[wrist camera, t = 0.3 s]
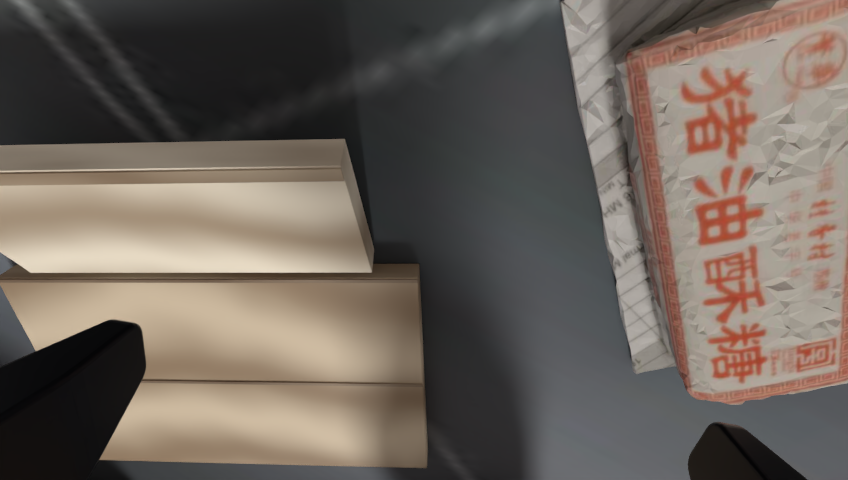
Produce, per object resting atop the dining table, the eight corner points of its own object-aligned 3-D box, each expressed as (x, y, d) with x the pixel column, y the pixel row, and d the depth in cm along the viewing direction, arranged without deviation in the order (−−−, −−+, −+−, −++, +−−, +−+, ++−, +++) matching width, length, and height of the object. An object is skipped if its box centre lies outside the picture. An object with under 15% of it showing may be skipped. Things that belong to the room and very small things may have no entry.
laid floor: (427, 450, 29) (426, 469, 28) (106, 442, 30) (93, 460, 29) (419, 263, 23) (417, 278, 22) (16, 264, 24) (-5, 278, 23)
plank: (374, 249, 22) (371, 273, 22) (42, 251, 23) (30, 274, 23) (344, 138, 16) (340, 167, 16) (-96, 147, 17) (-119, 174, 17)
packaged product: (924, 389, 19) (661, 435, 21) (839, 314, 23) (627, 358, 26) (1011, -153, 11) (581, 5, 13) (860, -119, 16) (551, -3, 18)
